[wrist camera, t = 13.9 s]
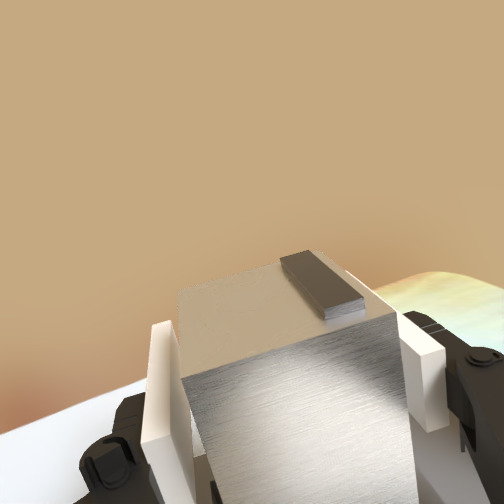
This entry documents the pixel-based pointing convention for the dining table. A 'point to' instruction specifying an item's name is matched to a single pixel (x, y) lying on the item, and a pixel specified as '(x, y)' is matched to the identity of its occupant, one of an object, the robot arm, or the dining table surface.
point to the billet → (297, 386)
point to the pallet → (426, 468)
